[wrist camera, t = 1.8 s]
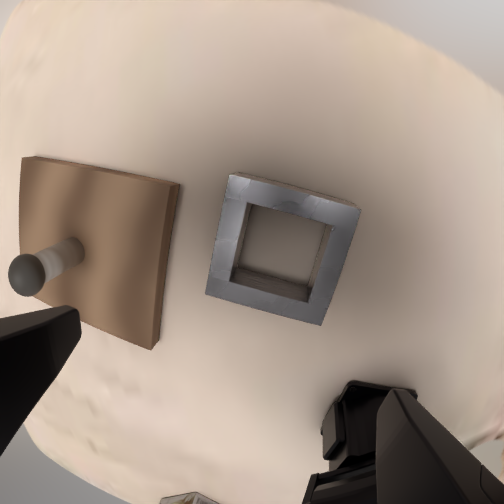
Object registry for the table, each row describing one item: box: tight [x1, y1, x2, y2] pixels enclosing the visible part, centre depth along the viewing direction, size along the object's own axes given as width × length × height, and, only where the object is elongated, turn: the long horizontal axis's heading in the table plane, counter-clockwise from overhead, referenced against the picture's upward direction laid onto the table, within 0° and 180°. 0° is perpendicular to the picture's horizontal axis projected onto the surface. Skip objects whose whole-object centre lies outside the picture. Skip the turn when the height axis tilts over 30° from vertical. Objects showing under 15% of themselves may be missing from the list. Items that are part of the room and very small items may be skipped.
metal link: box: [205, 172, 361, 326], centre depth 17 cm, size 7×7×2 cm
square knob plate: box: [8, 156, 180, 350], centre depth 17 cm, size 14×12×8 cm
